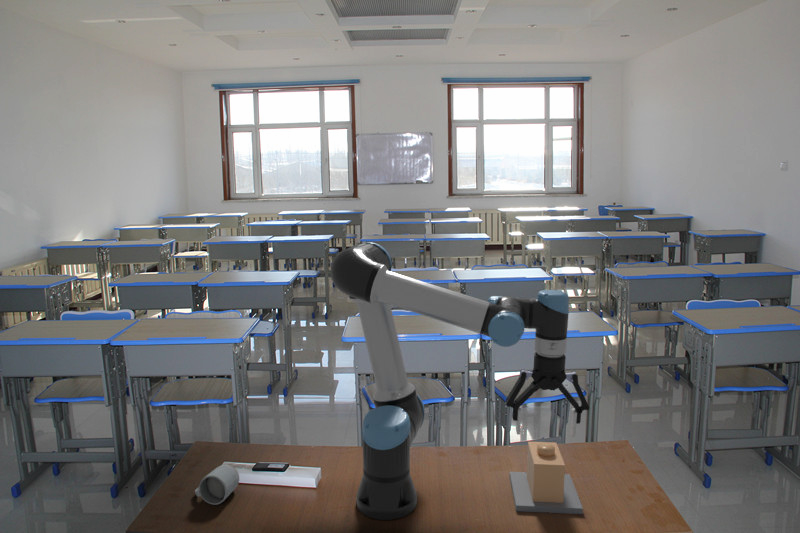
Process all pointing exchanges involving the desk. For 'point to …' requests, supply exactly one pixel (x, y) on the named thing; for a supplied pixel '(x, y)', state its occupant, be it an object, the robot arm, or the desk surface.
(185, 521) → the desk surface
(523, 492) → the grey square plate
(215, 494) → the ceramic mug
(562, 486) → the tan block with dome
